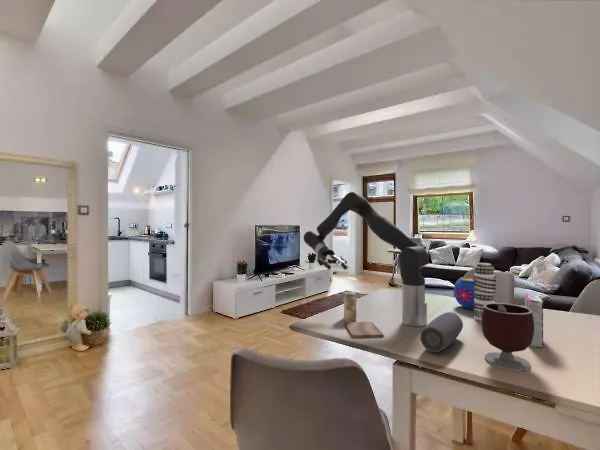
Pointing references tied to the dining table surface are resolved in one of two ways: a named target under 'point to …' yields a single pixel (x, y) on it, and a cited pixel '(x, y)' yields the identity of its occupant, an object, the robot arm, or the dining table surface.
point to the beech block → (350, 306)
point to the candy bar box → (536, 317)
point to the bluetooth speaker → (441, 332)
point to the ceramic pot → (465, 292)
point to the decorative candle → (483, 287)
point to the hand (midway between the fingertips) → (338, 267)
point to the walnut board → (363, 329)
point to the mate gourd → (507, 334)
